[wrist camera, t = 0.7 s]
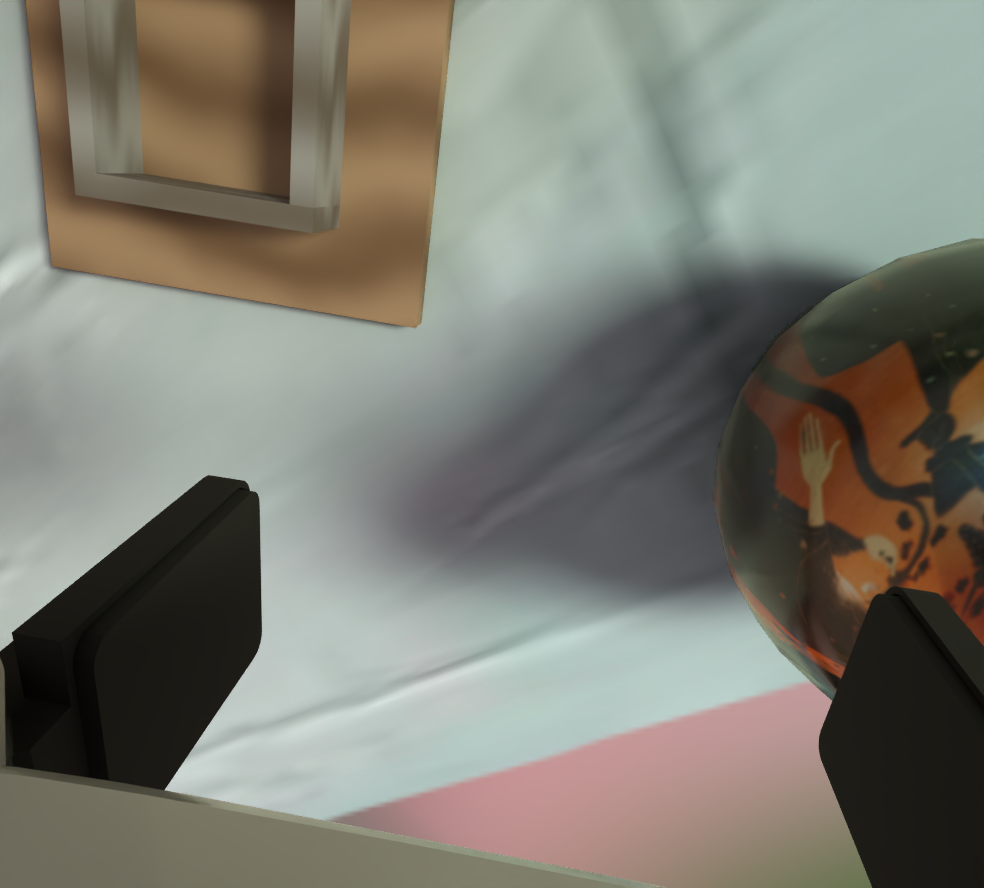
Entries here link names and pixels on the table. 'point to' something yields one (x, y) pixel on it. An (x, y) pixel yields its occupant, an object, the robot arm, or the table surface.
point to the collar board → (245, 145)
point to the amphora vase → (861, 458)
